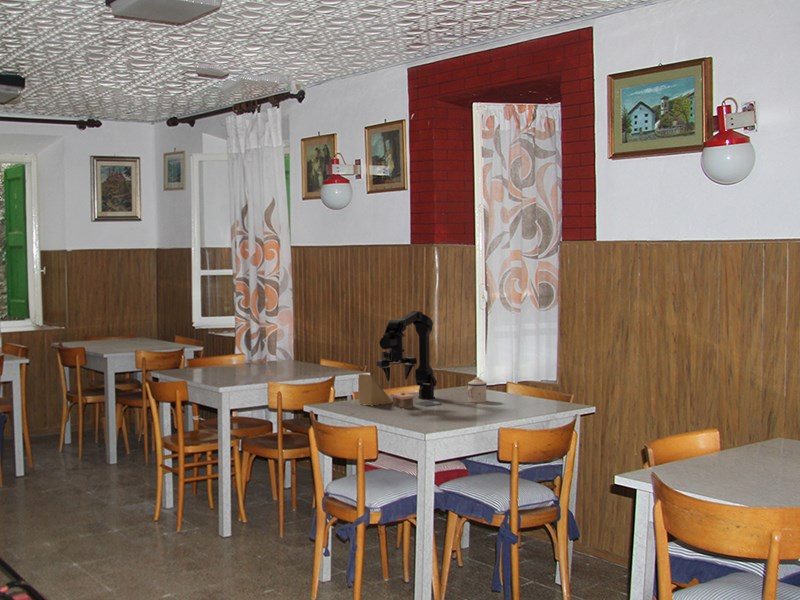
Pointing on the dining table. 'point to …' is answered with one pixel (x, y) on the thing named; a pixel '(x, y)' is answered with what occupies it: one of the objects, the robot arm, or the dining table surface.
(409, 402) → the tea box
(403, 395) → the lid
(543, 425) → the dining table surface
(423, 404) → the coaster
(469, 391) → the white printed mug
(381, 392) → the sandwich container
